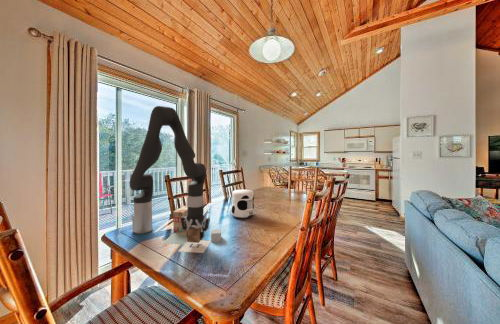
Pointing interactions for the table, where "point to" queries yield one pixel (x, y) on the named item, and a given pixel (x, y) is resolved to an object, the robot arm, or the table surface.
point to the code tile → (195, 246)
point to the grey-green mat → (176, 239)
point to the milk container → (243, 203)
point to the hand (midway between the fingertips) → (195, 238)
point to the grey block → (215, 235)
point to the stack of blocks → (179, 218)
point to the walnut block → (193, 234)
